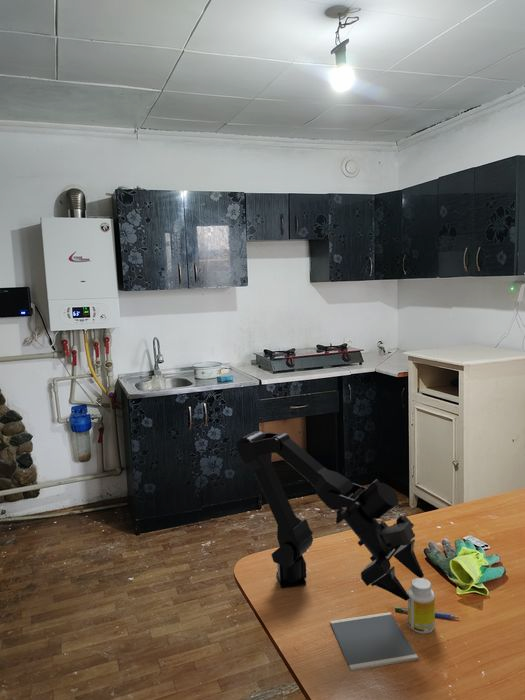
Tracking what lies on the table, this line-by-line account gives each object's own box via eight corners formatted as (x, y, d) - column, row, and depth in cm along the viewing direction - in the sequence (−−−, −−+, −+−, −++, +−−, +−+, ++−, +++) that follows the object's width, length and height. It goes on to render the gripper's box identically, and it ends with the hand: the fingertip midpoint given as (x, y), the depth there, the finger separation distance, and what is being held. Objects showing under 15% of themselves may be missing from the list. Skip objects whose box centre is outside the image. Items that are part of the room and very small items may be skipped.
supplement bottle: (440, 629, 112) (440, 586, 111) (420, 638, 110) (420, 594, 108) (421, 614, 117) (422, 572, 116) (402, 622, 115) (402, 580, 113)
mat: (350, 670, 102) (350, 668, 102) (330, 623, 116) (330, 621, 116) (417, 659, 104) (418, 657, 104) (390, 614, 118) (390, 612, 118)
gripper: (373, 528, 106) (428, 595, 101) (406, 493, 121) (454, 550, 116) (339, 553, 112) (389, 618, 107) (374, 517, 127) (419, 572, 122)
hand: (415, 588), depth 113 cm, fingers open, 9 cm apart
